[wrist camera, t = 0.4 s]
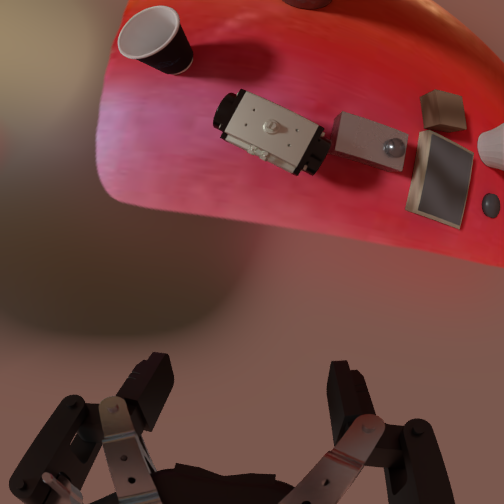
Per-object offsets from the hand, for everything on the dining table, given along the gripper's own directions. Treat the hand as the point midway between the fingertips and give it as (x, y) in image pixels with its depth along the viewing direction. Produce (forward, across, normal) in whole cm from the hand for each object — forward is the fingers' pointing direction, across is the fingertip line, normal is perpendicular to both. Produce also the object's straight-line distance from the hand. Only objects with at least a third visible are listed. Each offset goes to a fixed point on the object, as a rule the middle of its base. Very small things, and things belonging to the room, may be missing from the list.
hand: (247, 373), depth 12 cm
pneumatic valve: (+27, -1, -13) cm, 30 cm away
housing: (+27, -13, -13) cm, 33 cm away
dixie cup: (+27, +13, -27) cm, 41 cm away
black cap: (+27, -38, -7) cm, 47 cm away
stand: (+27, -25, -9) cm, 38 cm away
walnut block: (+27, -26, -20) cm, 42 cm away
